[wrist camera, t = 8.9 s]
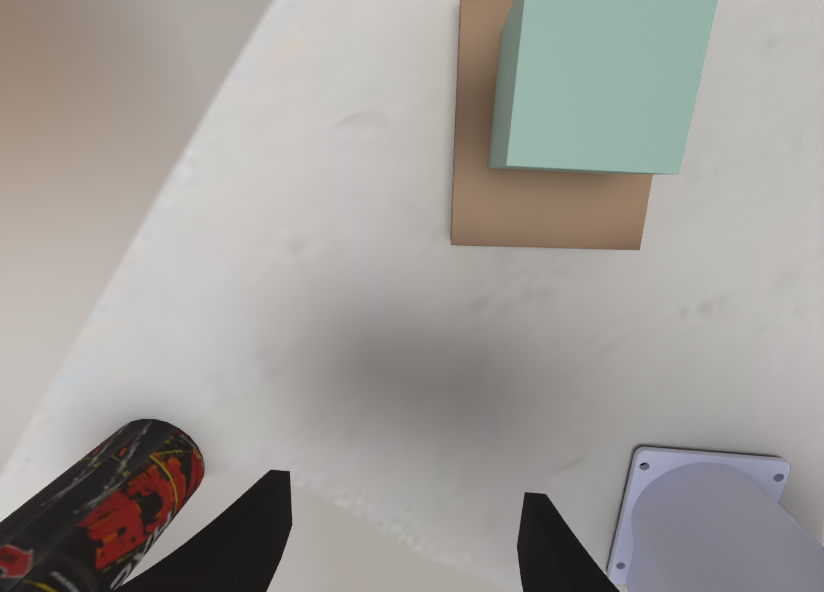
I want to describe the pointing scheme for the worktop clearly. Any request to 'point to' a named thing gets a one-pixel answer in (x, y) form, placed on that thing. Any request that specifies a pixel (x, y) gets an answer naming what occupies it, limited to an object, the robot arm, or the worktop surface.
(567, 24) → the sage cube
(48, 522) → the deodorant
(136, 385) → the worktop surface
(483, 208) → the walnut block
